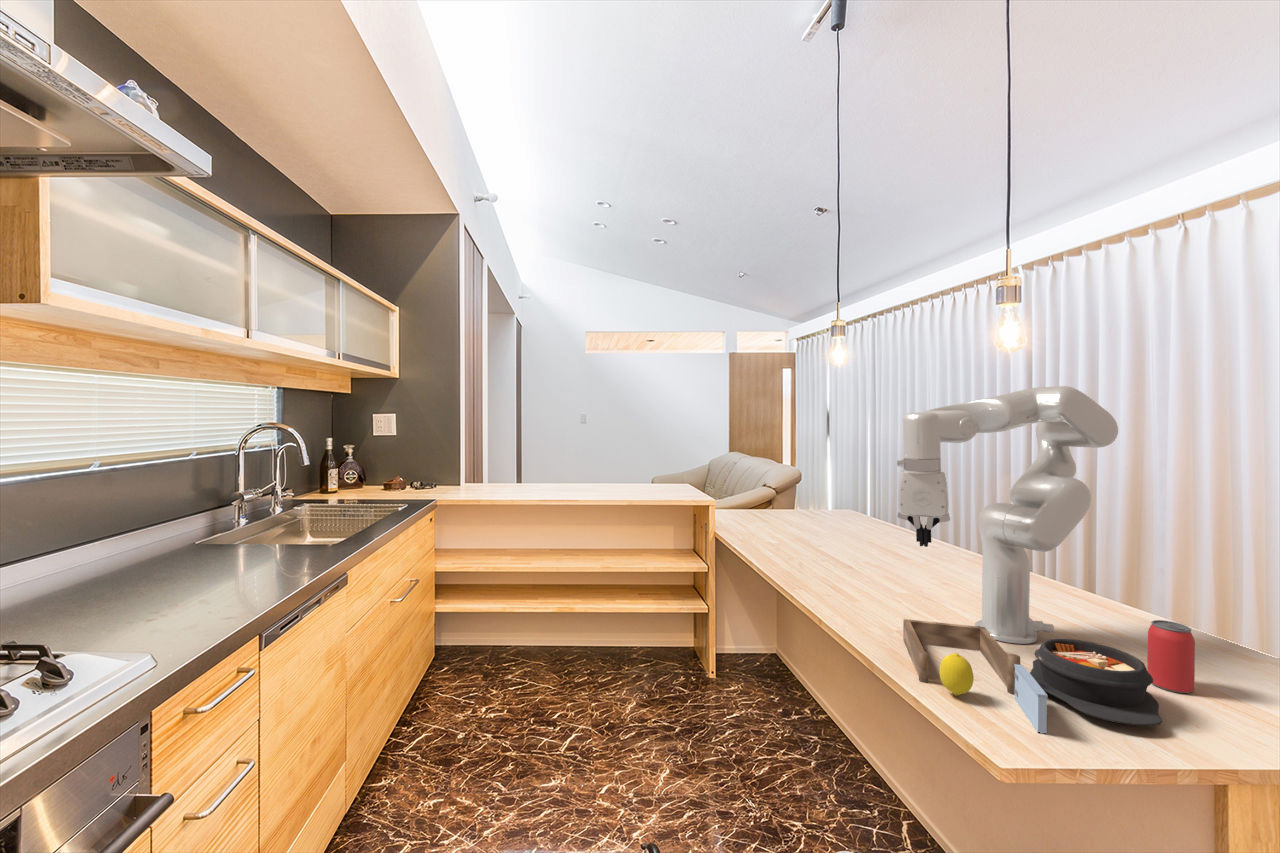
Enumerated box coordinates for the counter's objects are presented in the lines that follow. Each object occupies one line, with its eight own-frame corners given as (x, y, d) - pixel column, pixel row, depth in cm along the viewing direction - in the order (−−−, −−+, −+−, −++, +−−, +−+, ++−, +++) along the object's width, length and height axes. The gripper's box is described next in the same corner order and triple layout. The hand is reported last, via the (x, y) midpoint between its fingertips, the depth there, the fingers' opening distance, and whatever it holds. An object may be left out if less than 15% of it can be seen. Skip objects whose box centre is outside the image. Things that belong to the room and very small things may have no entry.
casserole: (1008, 663, 116) (1009, 624, 116) (1113, 674, 111) (1114, 634, 111) (1062, 726, 92) (1063, 677, 92) (1199, 745, 87) (1200, 693, 87)
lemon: (966, 706, 99) (967, 662, 99) (934, 694, 103) (934, 652, 103) (977, 696, 102) (978, 654, 102) (946, 685, 106) (946, 644, 106)
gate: (1014, 698, 101) (1014, 664, 101) (1022, 699, 101) (1023, 665, 101) (1037, 732, 90) (1037, 693, 90) (1047, 734, 90) (1047, 695, 90)
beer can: (1183, 697, 102) (1184, 634, 102) (1139, 682, 108) (1140, 621, 108) (1201, 690, 104) (1202, 628, 104) (1157, 675, 110) (1158, 617, 110)
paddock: (986, 649, 123) (986, 618, 123) (1021, 695, 102) (1022, 658, 102) (902, 639, 128) (902, 610, 128) (919, 682, 108) (920, 647, 107)
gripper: (884, 466, 126) (886, 545, 126) (959, 468, 118) (961, 552, 118) (888, 463, 132) (890, 538, 132) (960, 465, 124) (961, 544, 125)
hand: (924, 545), depth 125 cm, fingers closed
